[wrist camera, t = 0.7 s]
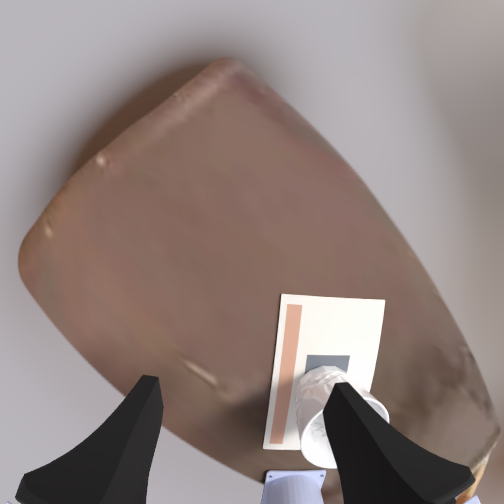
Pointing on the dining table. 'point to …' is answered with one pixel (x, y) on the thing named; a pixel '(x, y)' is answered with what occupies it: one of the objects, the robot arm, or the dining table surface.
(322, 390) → the white cup
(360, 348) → the menu card
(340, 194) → the dining table surface
